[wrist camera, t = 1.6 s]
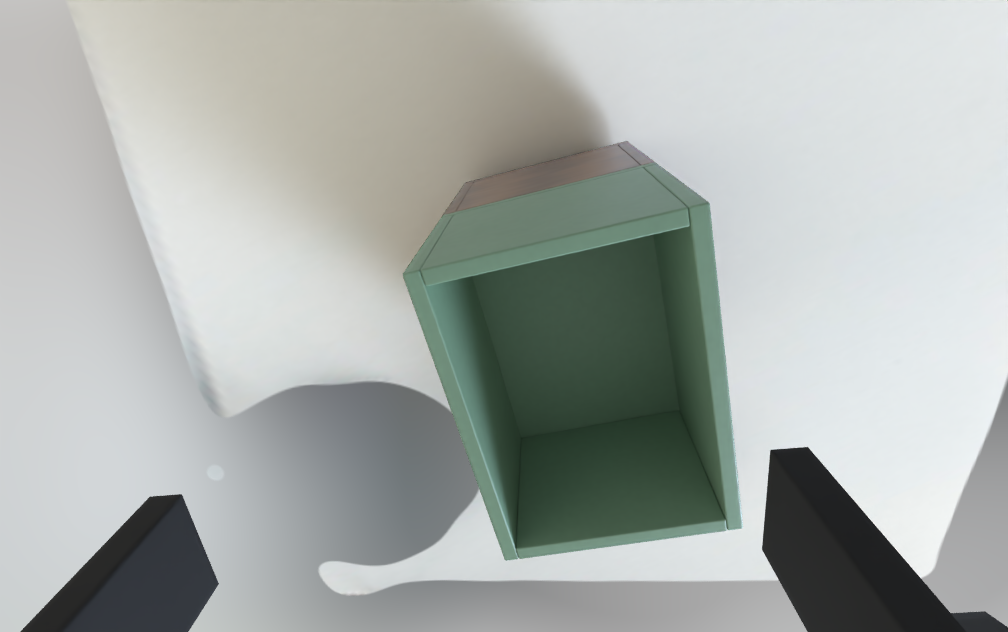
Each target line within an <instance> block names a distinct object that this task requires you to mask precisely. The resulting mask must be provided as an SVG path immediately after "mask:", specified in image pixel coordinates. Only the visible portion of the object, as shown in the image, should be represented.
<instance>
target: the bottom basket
mask: <svg viewBox="0 0 1008 632" xmlns="http://www.w3.org/2000/svg"><path fill="white" fill-rule="evenodd" d="M653 162H654V161H653V160H652V159H650V158H649V157H648V156H646V155H645V154H644V153H642V152H641V151H639V150H638V149H637V148H635V147H634V146H633V145H631V144H630V143H629V142H628V141H625V142H621V143H617V144H613V145H609V146H606V147H602V148H598V149H594V150H590V151H586V152H582V153H578V154H575V155H571V156H567V157H563V158H559V159H555V160H551V161H548V162H544V163H540V164H536V165H532V166H528V167H524V168H521V169H517V170H513V171H509V172H505V173H501V174H497V175H493V176H490V177H486V178H482V179H478V180H474V181H470V182H466V183H465V184H464V185H463V187H462V188H461V190H460V191H459V192H458V194H457V195H456V197H455V198H454V200H453V201H452V203H451V204H450V206H449V207H448V208H447V210H446V211H445V213H444V214H443V215H445V214H449V213H453V212H457V211H461V210H465V209H469V208H473V207H477V206H481V205H485V204H489V203H493V202H497V201H501V200H505V199H509V198H513V197H517V196H521V195H525V194H529V193H533V192H537V191H541V190H545V189H549V188H553V187H557V186H561V185H565V184H569V183H573V182H577V181H581V180H585V179H589V178H593V177H597V176H601V175H605V174H609V173H613V172H617V171H621V170H625V169H629V168H633V167H637V166H641V165H645V164H649V163H653Z"/></svg>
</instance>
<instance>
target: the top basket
mask: <svg viewBox="0 0 1008 632" xmlns="http://www.w3.org/2000/svg"><path fill="white" fill-rule="evenodd" d="M403 277H404V280H405V283H406V286H407V289H408V291H409V294H410V297H411V300H412V302H413V305H414V308H415V311H416V314H417V316H418V319H419V322H420V325H421V328H422V330H423V333H424V336H425V339H426V341H427V344H428V347H429V350H430V353H431V355H432V358H433V361H434V364H435V367H436V369H437V372H438V375H439V378H440V380H441V383H442V386H443V389H444V392H445V394H446V397H447V400H448V403H449V406H450V408H451V411H452V414H453V417H454V419H455V422H456V425H457V428H458V431H459V433H460V436H461V439H462V442H463V445H464V447H465V450H466V453H467V456H468V458H469V461H470V464H471V467H472V470H473V472H474V475H475V478H476V481H477V483H478V486H479V489H480V492H481V495H482V497H483V500H484V503H485V506H486V509H487V511H488V514H489V517H490V520H491V522H492V525H493V528H494V531H495V534H496V536H497V539H498V542H499V545H500V548H501V550H502V553H503V556H504V559H505V560H506V561H507V560H514V559H518V558H519V559H523V558H530V557H537V556H545V555H552V554H559V553H567V552H574V551H581V550H589V549H596V548H603V547H611V546H618V545H625V544H633V543H640V542H647V541H655V540H662V539H669V538H677V537H684V536H691V535H699V534H706V533H713V532H721V531H726V530H727V529H728V530H734V529H741V528H743V523H742V513H741V503H740V494H739V484H738V474H737V465H736V455H735V445H734V436H733V426H732V416H731V407H730V397H729V387H728V378H727V368H726V358H725V349H724V339H723V329H722V320H721V310H720V300H719V291H718V281H717V271H716V262H715V252H714V242H713V233H712V223H711V213H710V204H709V202H708V201H706V200H705V199H704V198H702V197H701V196H700V195H698V194H697V193H696V192H694V191H693V190H691V189H690V188H689V187H687V186H686V185H685V184H683V183H682V182H681V181H679V180H678V179H677V178H675V177H674V176H673V175H671V174H670V173H669V172H667V171H666V170H665V169H663V168H662V167H661V166H659V165H658V164H657V163H656V162H653V163H649V164H645V165H641V166H637V167H633V168H629V169H625V170H621V171H617V172H613V173H609V174H605V175H601V176H597V177H593V178H589V179H585V180H581V181H577V182H573V183H569V184H565V185H561V186H557V187H553V188H549V189H545V190H541V191H537V192H533V193H529V194H525V195H521V196H517V197H513V198H509V199H505V200H501V201H497V202H493V203H489V204H485V205H481V206H477V207H473V208H469V209H465V210H461V211H457V212H453V213H449V214H445V215H443V216H442V217H441V219H440V220H439V222H438V223H437V225H436V226H435V228H434V229H433V231H432V232H431V234H430V235H429V237H428V238H427V239H426V241H425V242H424V244H423V245H422V247H421V248H420V250H419V251H418V253H417V254H416V255H415V257H414V258H413V260H412V261H411V263H410V264H409V266H408V267H407V269H406V270H405V272H404V273H403Z"/></svg>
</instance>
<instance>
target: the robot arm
mask: <svg viewBox="0 0 1008 632" xmlns="http://www.w3.org/2000/svg"><path fill="white" fill-rule="evenodd" d="M762 550H763V552H764V554H765V556H766V557H767V559H768V561H769V563H770V565H771V566H772V568H773V570H774V572H775V574H776V575H777V577H778V579H779V581H780V583H781V584H782V586H783V588H784V590H785V592H786V593H787V595H788V597H789V599H790V601H791V602H792V604H793V606H794V608H795V610H796V612H797V613H798V615H799V617H800V619H801V621H802V622H803V624H804V626H805V628H806V630H807V631H808V632H1008V627H1007V626H1005V625H1004V624H1002V623H1001V622H999V621H998V620H996V619H995V618H994V617H992V616H991V615H989V614H988V613H986V612H968V613H950V612H949V611H948V610H947V609H946V607H945V606H944V605H943V604H942V603H941V602H940V601H939V599H938V598H937V597H936V596H935V595H934V593H933V592H932V591H931V590H930V589H929V588H928V586H927V585H926V584H925V583H924V582H923V581H922V579H921V578H920V577H919V576H918V575H917V574H916V572H915V571H914V570H913V569H912V568H911V567H910V566H909V564H908V563H907V562H906V561H905V560H904V559H903V557H902V556H901V555H900V554H899V553H898V552H897V550H896V549H895V548H894V547H893V546H892V545H891V543H890V542H889V541H888V540H887V539H886V538H885V536H884V535H883V534H882V533H881V532H880V531H879V529H878V528H877V527H876V526H875V525H874V524H873V522H872V521H871V520H870V519H869V518H868V517H867V515H866V514H865V513H864V512H863V511H862V510H861V508H860V507H859V506H858V505H857V504H856V503H855V501H854V500H853V499H852V498H851V497H850V496H849V495H848V493H847V492H846V491H845V490H844V489H843V488H842V486H841V485H840V484H839V483H838V482H837V481H836V479H835V478H834V477H833V476H832V475H831V474H830V472H829V471H828V470H827V469H826V468H825V467H824V465H823V464H822V463H821V462H820V461H819V460H818V458H817V457H816V456H815V455H814V454H813V453H812V451H811V450H810V449H809V448H808V447H803V448H790V449H777V450H771V451H770V463H769V475H768V486H767V498H766V510H765V522H764V534H763V546H762ZM218 584H219V583H218V581H217V579H216V576H215V574H214V571H213V569H212V566H211V564H210V562H209V559H208V557H207V554H206V552H205V550H204V547H203V545H202V542H201V540H200V538H199V535H198V533H197V530H196V528H195V525H194V523H193V521H192V518H191V516H190V513H189V511H188V509H187V506H186V504H185V501H184V499H183V496H182V495H167V496H153V497H149V498H148V499H147V500H146V501H145V502H144V504H143V505H142V506H141V507H140V508H139V509H138V510H137V511H136V512H135V513H134V514H133V515H132V516H131V517H130V518H129V519H128V520H127V521H126V522H125V523H124V524H123V525H122V526H121V528H120V529H119V530H118V531H117V532H116V533H115V534H114V535H113V536H112V537H111V538H110V539H109V540H108V541H107V542H106V543H105V544H104V545H103V546H102V547H101V548H100V549H99V550H98V551H97V552H96V553H95V555H94V556H93V557H92V558H91V559H90V560H89V561H88V562H87V563H86V564H85V565H84V566H83V567H82V568H81V569H80V570H79V571H78V572H77V573H76V575H74V576H73V578H71V580H70V581H69V582H68V583H67V584H66V585H65V586H64V587H63V588H62V589H61V590H60V591H59V592H58V593H57V594H56V595H55V596H54V597H53V598H52V599H51V600H50V601H49V602H48V604H47V605H46V606H45V607H44V608H43V609H42V610H41V611H40V612H39V613H38V614H37V615H36V616H35V617H34V618H33V619H32V620H31V621H30V622H29V623H28V624H27V625H26V626H25V627H24V628H23V630H22V631H21V632H188V631H189V630H190V628H191V626H192V625H193V623H194V622H195V620H196V619H197V617H198V616H199V614H200V612H201V611H202V609H203V608H204V606H205V604H206V603H207V601H208V600H209V598H210V597H211V595H212V594H213V592H214V591H215V589H216V587H217V586H218Z"/></svg>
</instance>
